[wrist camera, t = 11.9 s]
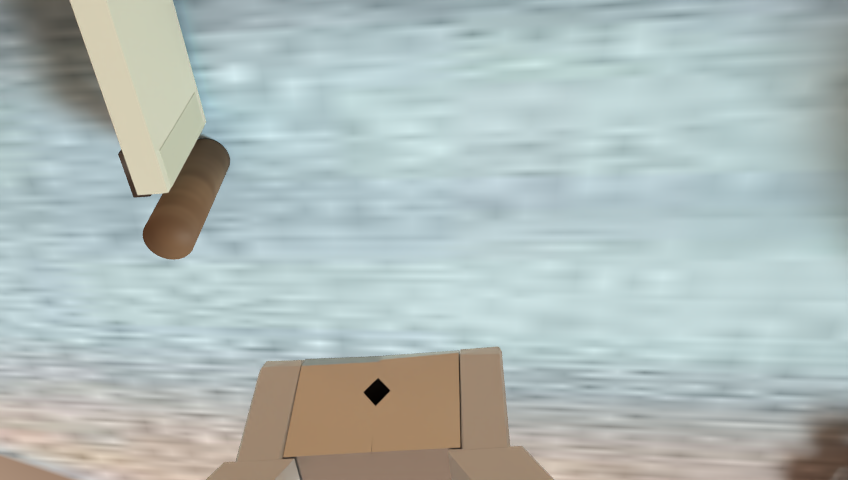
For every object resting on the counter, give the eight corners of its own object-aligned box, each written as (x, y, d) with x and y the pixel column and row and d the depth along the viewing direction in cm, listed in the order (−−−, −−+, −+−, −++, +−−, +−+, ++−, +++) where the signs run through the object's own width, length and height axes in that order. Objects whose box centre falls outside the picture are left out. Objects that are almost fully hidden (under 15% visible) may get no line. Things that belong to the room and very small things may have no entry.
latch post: (154, 101, 36) (103, 175, 30) (213, 96, 36) (172, 170, 30) (178, 179, 38) (135, 262, 33) (234, 175, 38) (199, 257, 32)
